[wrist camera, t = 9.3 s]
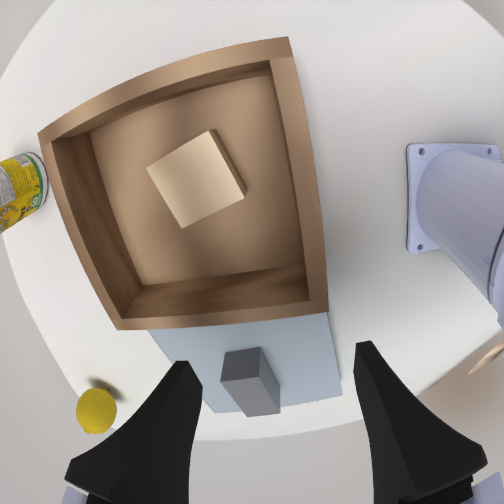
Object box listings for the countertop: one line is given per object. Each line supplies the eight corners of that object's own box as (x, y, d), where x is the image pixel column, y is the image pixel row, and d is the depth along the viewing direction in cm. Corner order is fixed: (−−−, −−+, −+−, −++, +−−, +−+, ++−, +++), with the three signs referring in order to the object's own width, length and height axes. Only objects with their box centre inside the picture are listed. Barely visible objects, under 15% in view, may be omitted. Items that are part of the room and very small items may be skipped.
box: (282, 59, 13) (288, 36, 8) (316, 266, 19) (328, 311, 15) (84, 123, 15) (37, 133, 10) (142, 289, 21) (117, 330, 17)
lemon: (85, 371, 29) (62, 415, 22) (120, 385, 29) (99, 433, 22) (94, 391, 32) (75, 431, 25) (126, 404, 32) (109, 447, 25)
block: (215, 129, 14) (208, 130, 12) (247, 188, 16) (244, 198, 14) (159, 162, 15) (146, 168, 13) (191, 216, 17) (182, 228, 15)
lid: (316, 270, 20) (328, 320, 15) (339, 376, 26) (346, 419, 21) (155, 308, 23) (132, 353, 18) (218, 395, 28) (211, 435, 24)
